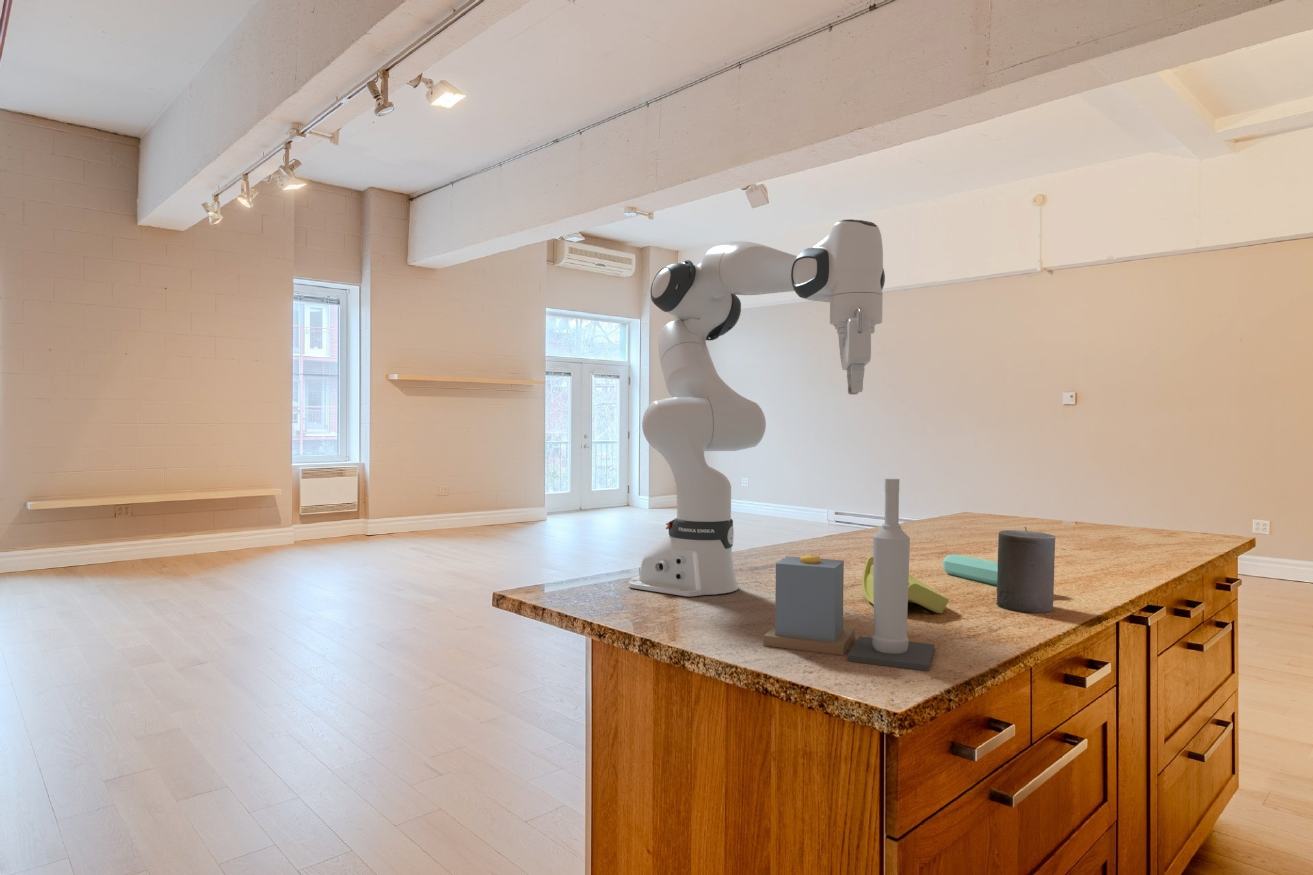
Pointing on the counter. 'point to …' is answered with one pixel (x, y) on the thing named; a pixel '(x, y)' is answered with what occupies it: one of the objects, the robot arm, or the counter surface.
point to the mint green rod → (971, 568)
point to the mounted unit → (810, 606)
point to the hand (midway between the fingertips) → (854, 393)
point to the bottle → (891, 578)
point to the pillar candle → (1025, 571)
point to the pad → (893, 655)
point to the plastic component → (915, 591)
